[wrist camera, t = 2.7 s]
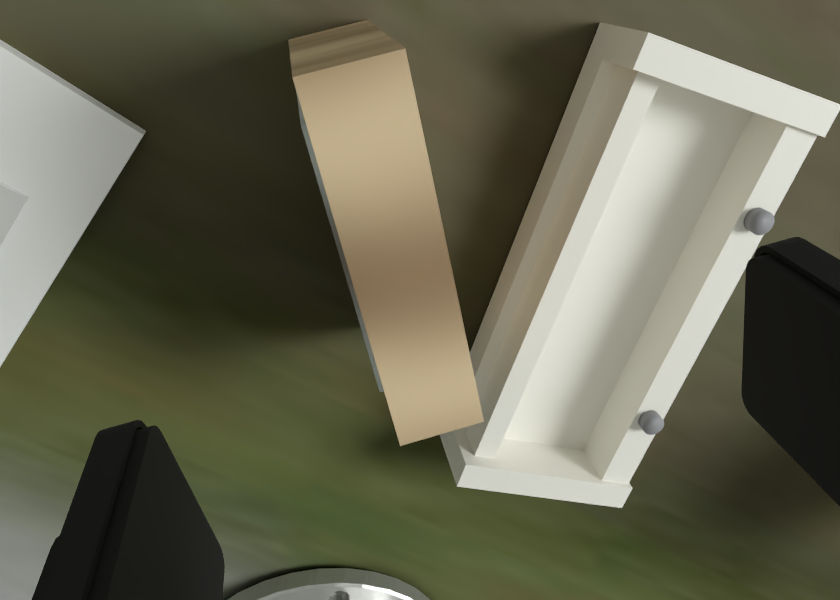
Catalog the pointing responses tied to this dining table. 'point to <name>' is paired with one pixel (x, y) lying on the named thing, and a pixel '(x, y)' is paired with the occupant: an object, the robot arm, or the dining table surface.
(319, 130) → the oak frame
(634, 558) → the dining table surface
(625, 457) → the white pegged tray
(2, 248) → the photo frame
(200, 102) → the dining table surface
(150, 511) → the robot arm
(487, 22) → the dining table surface
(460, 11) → the dining table surface
